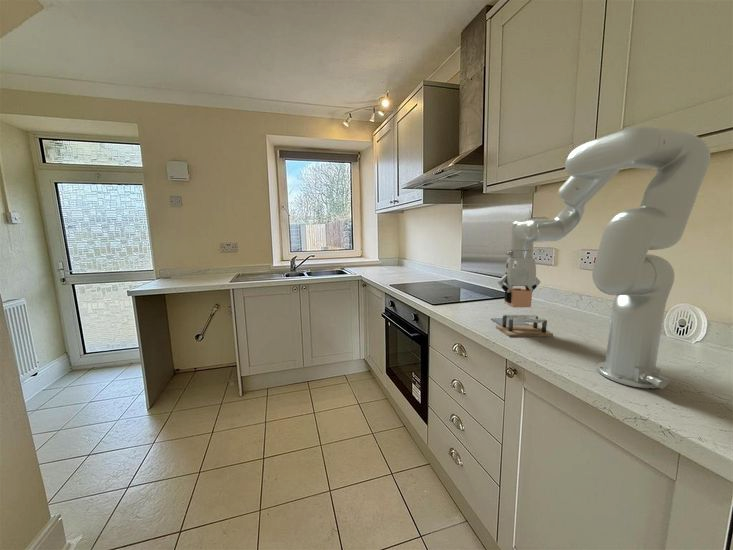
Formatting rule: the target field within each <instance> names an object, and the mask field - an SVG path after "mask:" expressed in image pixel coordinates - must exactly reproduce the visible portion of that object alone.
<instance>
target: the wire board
mask: <svg viewBox="0 0 733 550" xmlns="http://www.w3.org/2000/svg"><path fill="white" fill-rule="evenodd" d="M508 328H509V325H506V327H502V326H500V325H495V329H497V330H498V329H499V330H498V331H500V332H501V333H503V334H504V335H506V336H508V337H509V338H518V337H521V338H523V337H545V336H546V337H548V336H549V337H553V336H554V333H553V332H551V331H549V330H547V329H546V333H542V326H539V325H537V328H533V324H529V325H513V331H508Z"/></svg>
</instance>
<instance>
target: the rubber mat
mask: <svg viewBox="0 0 733 550" xmlns="http://www.w3.org/2000/svg"><path fill="white" fill-rule="evenodd" d="M509 319H510V318H507V321H506V325H509ZM490 320H491V321H492V322H493V323H495V322H496V324H498V326H502V320H503V317H498V318H497V317H495V318H493V317H491V318H490ZM513 325H530V324H529V323H528V322H513Z"/></svg>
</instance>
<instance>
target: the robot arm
mask: <svg viewBox="0 0 733 550" xmlns="http://www.w3.org/2000/svg"><path fill="white" fill-rule="evenodd" d="M710 162H711V151H710V147H709V146H708V144H707V143H706V142H705V141H704V140H703V138H700V137H699V136H697V135H694V134H692V133H691V132H690V133H689V132H686V131H682V130H677V129H670V128H660V127H653V126H633V127H629V128H625V129H621V130H618V131H616V132H612V133H609V134H607V135H604V136H601V137H598V138H595V139H592V140H589V141H586V142H584V143H581V144H579V145H578V146H576V147H575V148H574V149H573V150H571V152H570V153H569V154H568V156H567V157H566V159H565V162H564V163H565V164H564V169H565V172H566V174H567V175H569V177H568V178H567V179H566V180H565V182H564V183H563V184H562V185H561V186H560V187H559V189H558V191H557V195H558V197H559V199H560V201H562V202H563V203H564V204H565V206H564V208H563V209H562V210H561V211H560V212H559V213H558V214H557V215H556V216H555V217H554V218H541V219H540V218H539V219H535V218H534V219H528V220H515V221H513V222H512V223H511V225H510V226H511V227H510V243H509V250H508V251H506V253H505V255H506V256H508V258H506V259H507V260H506V263H505V265H504V266H505V267H504V273H503V274H504V275H503V276H502V277H501V278H500V279H498V280H497V283H496V284H498V285H499V286H500V288H501V289H502V290H503V291H504V299H505V301H506V302H508V303H511V295H512V293H511V292H510V291H511V289H512V288H514V287H524V289H527V290H530V291H532V293H533V292H534V291H535V289H536V288H537V287H538V286H539V285H540V284H541V280H540V279H539V278H537V266H536V265H537V264H536V260H535V258H533V253H534V243H538V242H539V243H540V242H541V243H542V242H543V243H544V242H557V241H560V240H562V239H563V238H565V237H566V236H567V235H568V234H570V233H571V232H572V231H573V230H574V229H575V228H576V227H577V226H578V225H579V223H580V222H581V220H582V218H583V215H584V212H585V207H586V204H588V202H590V201H591V200H592V199H593V198H594V197H595V195H596V194H598V193H599V192H600V191H601V190H602V189H603V188H604V187H605V186H606V185H607V184H608V183H609V182H610V181H611V180H612V179H613V178H614V177H615V176H616V175H617V174H618V173H619V172H620V171H621V170H622V169H627V168H628V169H642V170H643V169H644V170H645V169H647V170H654V171H656V174H655V175H654V176H653V177H652V179H650V181H649V182H648V184H647V186H646V188H645V190H644V192H643V195H642V196H643V197H642V200H641V202H640V205H639V207H638V208H630V209H625V210H623V211H620V212H618V213H617V214H616V215H615V216H613V217H612V218H611V219H610V220H609V221H608V223H607V224H606V226H605V228H604V230H603V234H602V236H601V239H600V242H599V246H598V250H597V252H596V257H595V260H594V264H593V266H592V282H593V284H594V286H595V288H597V290H598V291H599V292H602V293H603V294H606V295H609V296H615V297H614V299H613V302H612V306H611V312H610V313H611V314H610V320H609V330H608V336H607V345H606V352H605V361H602V362H599V363H597V366H596V369H597V372H598V373H599V374H600V375H602V376H603V377H605V378H607V379H609V380H611V381H613V382H617V383H618V384H622V385H626V386H630V387H635V388H641V389H649V388H652V389H661V390H663V389H664V388H666V387H667V385H670V382H671V380H670V379H669V378H668V377H666V376H663V375H661V368H660V367H659V366H657V362H658V361H657V360H658V355H659V354H658V353H659V347H660V342H661V334H662V327H663V322H664V321H663V320H664V316H665V310H666V306H667V301H668V298H669V296H670V293H671V290H672V287H673V285H674V282H675V270H674V268H673V266H672V264H671V263H670V262H669V261H668V260H667V259H665V258H664V257H661V256H659V255H656V254H655V255H654V254H649V253H648V251H657V250H659V251H660V250H664V249H665V250H666V249H668V248H672V247H673V246H675V245H676V244H678V243H679V241H680V240H681V239H682V237H683V235H684V232H685V229H686V226H687V224H688V222H689V221H688V220H689V219H690V216H691V213H692V211H693V208H694V206H695V202H696V200H697V196H698V193H699V191H700V188H701V186H702V184H703V181H704V179H705V177H706V175H707V172H708V169H709V167H710Z"/></svg>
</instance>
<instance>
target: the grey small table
mask: <svg viewBox="0 0 733 550" xmlns="http://www.w3.org/2000/svg"><path fill="white" fill-rule="evenodd" d="M502 318H503V320H502V327H506V321H507V318H510V319H509V328H508V331H513V322H526V323H533V324H532V325H533V328H537V326H539V325H538V324H539V323H540V324H541V328H542V333H546V330H547V327H548V325H547V324H548V320H547V319H545V318H544V319H543V318H542V319H541V318H539V316H538V315H535V314H533V315H531V314H529V315H528V314H503V315H502Z"/></svg>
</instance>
